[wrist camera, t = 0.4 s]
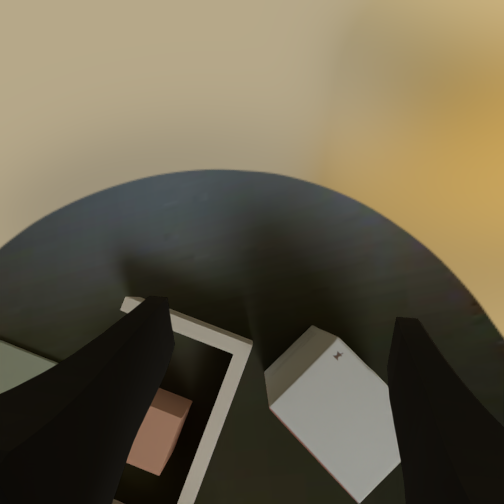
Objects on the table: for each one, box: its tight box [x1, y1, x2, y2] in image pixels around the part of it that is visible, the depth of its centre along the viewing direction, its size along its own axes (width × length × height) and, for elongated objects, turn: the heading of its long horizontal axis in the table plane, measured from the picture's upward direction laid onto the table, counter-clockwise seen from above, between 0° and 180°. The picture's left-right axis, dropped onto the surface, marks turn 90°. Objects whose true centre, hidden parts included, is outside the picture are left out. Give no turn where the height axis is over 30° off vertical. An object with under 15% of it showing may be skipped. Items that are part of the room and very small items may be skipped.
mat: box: [0, 340, 58, 394], centre depth 39 cm, size 8×8×1 cm
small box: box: [264, 325, 401, 503], centre depth 33 cm, size 8×6×13 cm
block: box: [126, 388, 192, 476], centre depth 36 cm, size 4×5×6 cm
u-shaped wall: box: [112, 296, 253, 504], centre depth 37 cm, size 18×11×4 cm, turn 159°
